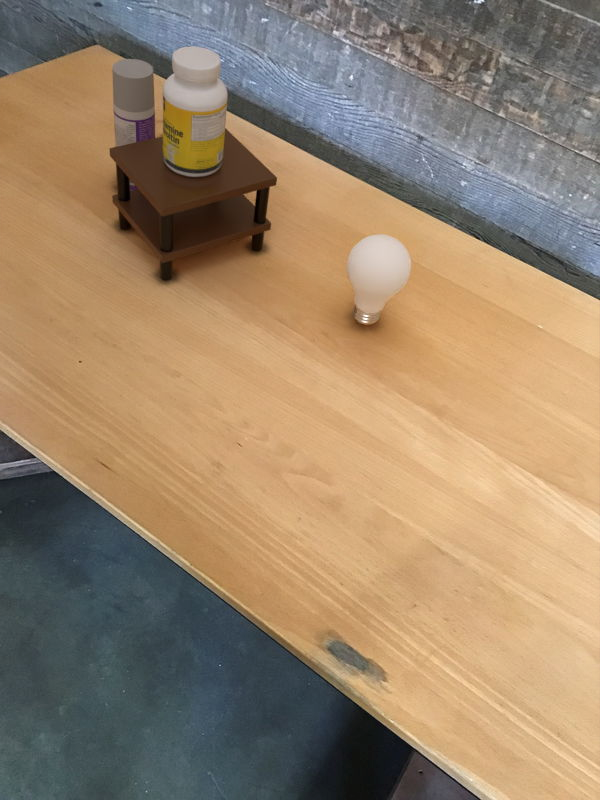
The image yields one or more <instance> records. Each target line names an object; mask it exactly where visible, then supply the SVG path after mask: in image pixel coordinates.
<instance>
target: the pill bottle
mask: <svg viewBox="0 0 600 800" xmlns="http://www.w3.org/2000/svg"><path fill="white" fill-rule="evenodd" d="M221 61H222V60H221V57H220V55H219V54H218V53H217V52H216V51H213V50H211V49H208V48H204V47H201V46H184V47H179V48H178V49H176V50H175V51H174V52H173V53H172V57H171V68H172V72H173V73H172V74H171V75H169V76H168V77H167V78H166V79H165V81H164V83H163V86H162V136H163V159H164V162H165V163H166V165H167V166H168V167H169V168H170V169H171V170H173V171H174V172H176V173H178V174H181V175H184V176H189V177H203V176H207V175H210V174H213V173H214V172H216V171H217V170H218V169H219V168H220V167H221V165H222V162H223V152H224V137H225V128H226V123H227V111H228V89H227V86H226V85H225V83H224V81H222V79H220V74H221V68H222V67H221V65H222V62H221Z"/></svg>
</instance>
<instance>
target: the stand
mask: <svg viewBox="0 0 600 800" xmlns="http://www.w3.org/2000/svg"><path fill="white" fill-rule="evenodd" d="M109 157H110V158H111V159H112V160H113V162H115V172H116V174H115V175H116V190H117V191H116V192H117V194H113V195H111V196H112V198H111V199H112V203H113V205H114V206H115V207H116V208H117V210H118V226H119V229H120V230H123V231H129V230H131V229H132V228H133V229H134V231H135V232H136V233H137V234H138V236H140V237H141V239H142V240H143V241H144V243H146V245H147V246H148V248H150V250H151V251H152V252H153V254H154V255H155V256H156V257H157V258H158V260H159V278H160V279H161V281H165V282H169V281H171V280H172V279H173V277H174V275H173V274H174V273H173V271H174V270H173V269H174V265H173V263H174V260H178V259H181V258H183V257H187V256H190V255H193V254H196V253H199V252H203V251H206V250H210V249H213V248H216V247H219V246H223V245H226V244H229V243H232V242H235V241H239V240H242V239H245V238H248V237H251V241H250V250H252V252H261V251H262V250H263V246H264V241H265V240H264V239H265V232H268V231H270V230H271V228H272V222H271V221H270V220H269V219H268V218H267V216H268V215H267V214H268V205H269V197H270V189H271V187H274V186H277V181H278V177H277V176H276V174H274V173H273V172H272V171H271V170H270V169H269V168H268V167H267V166H266V165H264V164H263V162H262V161H261V160H259V158H257V157H256V156H255V155H254V154H253V153H252V152H251V151H250V149H248V148H247V147H246V146H245V145H244V144H243V143H242V142H241V141H240V140H239V139H237V137H236V136H235V135H233V134H232V132H231V131H229V130H228V129H227V128H226V127H225V137H224V152H223V162H222V165H221V167H220V168H219V169H218V170H217V171H216V172H214V173H213V174H210V175H207V176H203V177H189V176H184V175H181V174H178V173H176V172H174V171H173V170H171V169H170V168H169V167H168V166H167V165H166V163H165V162H164V159H163V135H162V136H158V137H155V138H153V139H148V140H144V141H140V142H135V143H131V144H126V145H122V146H117V147H115V146H114V147H110V148H109ZM130 180H131V181H132V182H133V183H134V185H135V186H136V187H137V188H138V189H136V190H132V191H130ZM254 192H255V200H254V201H255V203H254V204H253V202H251V200H250V199H249V198H248V197H246V196H245V195H246V194H250V193H254Z"/></svg>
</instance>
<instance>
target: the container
mask: <svg viewBox="0 0 600 800" xmlns="http://www.w3.org/2000/svg"><path fill="white" fill-rule="evenodd" d="M111 69H112V71H111V72H112V102H113V103H112V104H113V105H112V106H113V110H112V111H113V124H114V142H115V144H114V145H115V146H114V147H117V146H122V145H126V144H131V143H135V142H140V141H144V140H148V139H153V138H156V103H155V102H156V101H155V78H154V68H153V65H151V64H150V63H148V62H146V61H145V60H141V59H136V58H125V59H121V60H118V61H115V63H113V64H112V67H111ZM136 189H138V188H137V187H136V186H135V185H134V183H133V182H132V181H131V180H130V191H132V190H136Z"/></svg>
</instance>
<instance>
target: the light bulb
mask: <svg viewBox="0 0 600 800" xmlns="http://www.w3.org/2000/svg"><path fill="white" fill-rule="evenodd" d="M346 272H347V278H348V280H349V282H350V284H351V286H352V288H353V291H354V299H353V301H354V305H353V310H352V316H353V318H354V319H355V321H356V322H357V323H359V324H362V325H365V326H370V325H374V324H375V323H377V321H378V320H379V319H380V317H381V312H382V310H383V309H384V308H385V306H386V304H387V302H388V301H389V300H390V299H392V298H393V297H394V296H396V294H398V293H399V292H401V291H402V290H403V289H404V287H405V286H406V285H407V284H408V281H409V279H410V277H411V272H412V260H411V256H410V254H409V251H408V249H407V248H406V246H405V245H404V244H403V242H401V241H400V240H399V239H397V238H395V237H393V236H391V235H388V234H381V233H379V234H371V235H368V236H366V237H364V238H362V239H361V240H359V241H358V242H357V243H356V244H355V245H354V246H353V247H352V249H351V251H350V252H349V254H348V258H347V263H346Z"/></svg>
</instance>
